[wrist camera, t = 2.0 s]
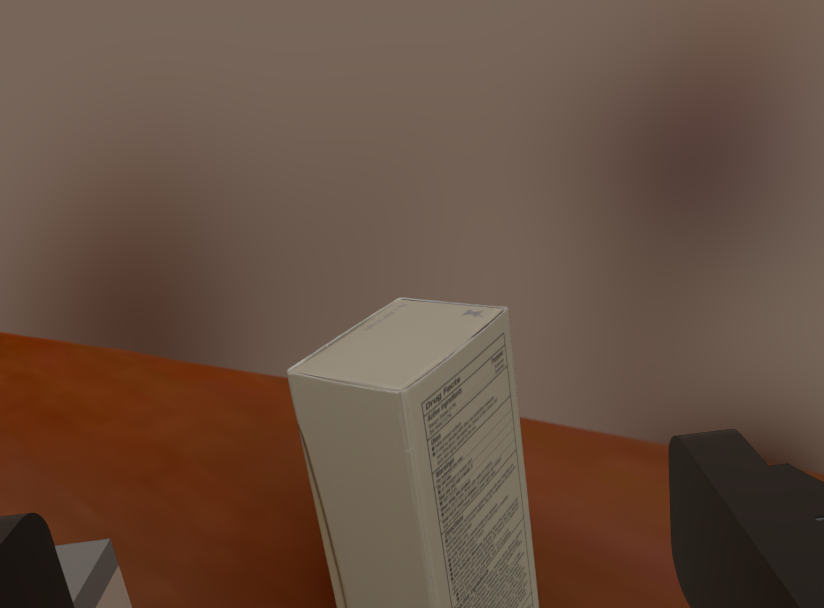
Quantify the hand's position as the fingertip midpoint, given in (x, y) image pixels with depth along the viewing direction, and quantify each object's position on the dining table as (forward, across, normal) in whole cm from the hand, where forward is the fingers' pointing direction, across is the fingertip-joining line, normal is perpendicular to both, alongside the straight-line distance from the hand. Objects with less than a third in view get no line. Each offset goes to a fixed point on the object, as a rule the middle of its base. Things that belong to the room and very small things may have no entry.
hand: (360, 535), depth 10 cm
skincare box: (+14, 0, +15) cm, 20 cm away
